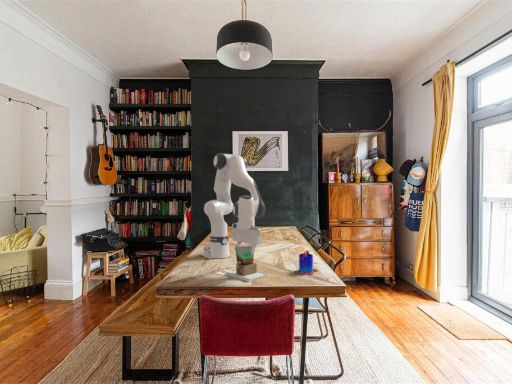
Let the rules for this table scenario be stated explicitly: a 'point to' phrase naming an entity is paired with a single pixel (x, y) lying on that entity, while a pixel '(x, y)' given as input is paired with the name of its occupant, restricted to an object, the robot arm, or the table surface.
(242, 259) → the food container
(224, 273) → the page
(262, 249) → the table surface
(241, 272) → the walnut block
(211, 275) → the table surface
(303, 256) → the fantasy tower
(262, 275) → the building board
